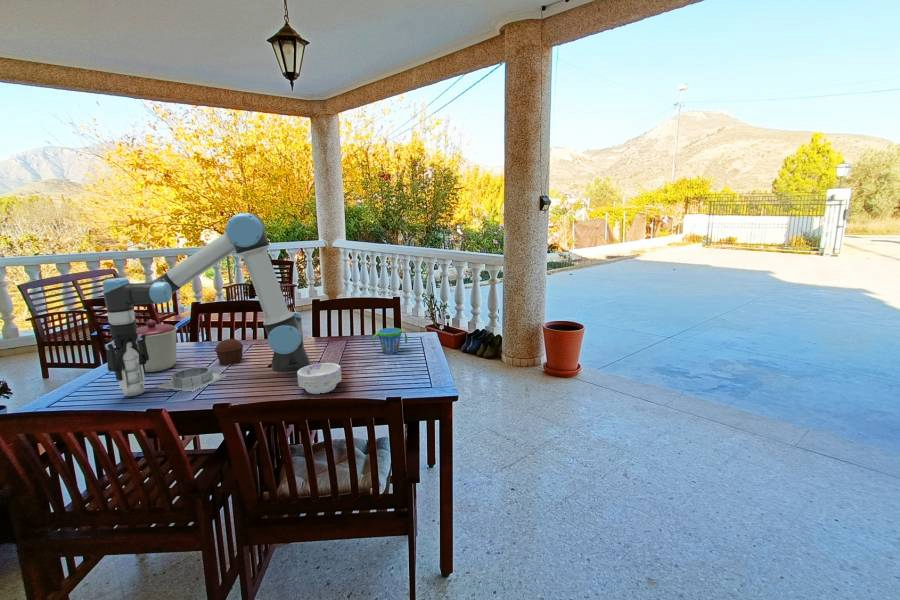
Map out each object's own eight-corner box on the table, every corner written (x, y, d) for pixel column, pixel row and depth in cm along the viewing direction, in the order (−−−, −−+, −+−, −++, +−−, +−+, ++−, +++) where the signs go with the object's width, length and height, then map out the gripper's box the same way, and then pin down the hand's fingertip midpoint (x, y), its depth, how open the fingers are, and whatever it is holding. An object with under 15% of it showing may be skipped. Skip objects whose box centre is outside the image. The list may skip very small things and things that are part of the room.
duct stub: (225, 376, 176) (224, 367, 175) (192, 392, 161) (191, 381, 160) (193, 373, 181) (192, 364, 180) (158, 388, 166) (156, 378, 165)
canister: (184, 369, 186) (177, 320, 182) (132, 379, 176) (123, 327, 172) (180, 358, 201) (174, 313, 197) (132, 367, 190) (124, 319, 186)
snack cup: (373, 356, 197) (372, 334, 195) (373, 349, 207) (372, 328, 205) (408, 354, 199) (407, 332, 197) (406, 347, 210) (406, 326, 208)
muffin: (219, 359, 198) (216, 337, 197) (246, 356, 202) (243, 335, 200) (214, 367, 187) (211, 345, 185) (242, 364, 191) (240, 342, 189)
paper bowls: (317, 379, 171) (315, 360, 169) (350, 384, 165) (349, 364, 163) (289, 394, 157) (287, 373, 155) (324, 400, 151) (322, 378, 150)
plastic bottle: (134, 399, 156) (125, 344, 152) (118, 398, 157) (109, 343, 154) (150, 392, 162) (141, 339, 158) (134, 391, 164) (126, 338, 160)
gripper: (139, 316, 165) (148, 375, 169) (85, 328, 147) (98, 394, 151) (155, 316, 163) (164, 376, 167) (102, 329, 145) (114, 396, 149)
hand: (132, 384), depth 159 cm, fingers closed on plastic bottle, 6 cm apart
